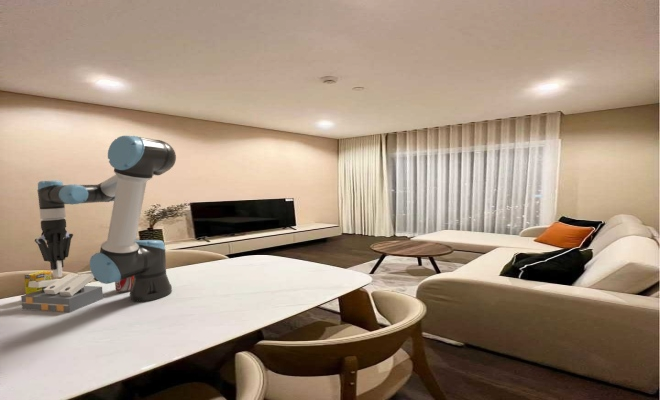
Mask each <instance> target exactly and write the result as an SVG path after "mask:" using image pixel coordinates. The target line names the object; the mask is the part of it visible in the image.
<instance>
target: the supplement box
mask: <svg viewBox="0 0 660 400" xmlns="http://www.w3.org/2000/svg"><path fill="white" fill-rule="evenodd" d="M23 276H24V289H25V295H26V294H29V293H33V292H36V291H39V290H42V287H39V288H37V287H28V285H29V282H31V281H41V280H51V279H52V271H49V270H39V271H36V272H31V273H25V274H24V275H23Z"/></svg>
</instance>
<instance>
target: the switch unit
mask: <svg viewBox="0 0 660 400" xmlns="http://www.w3.org/2000/svg"><path fill="white" fill-rule="evenodd" d="M47 287H48V286H47ZM47 287H42V290H39V291H36V292H33V293H29V294H26V293H25V294H23V295H20V296H21V297H20V299H21V309H22V310H30V311H31V310H32V311H47V312H58V313H59V312H61V313H72V312H74V311H77V310H79V309H82V308H84V307H86V306H88V305H91V304H93V303H96V302H98V301H101V300H103V299H104V296H103V295H104V294H103V293H104V291H103V286H95V285H94V286H92V285H85V286H84V287H83V288H81V289H80V290H79V291H78V292H76V293H75V294H74V295H73V296H61V294H60V293H57V294H45V292H44V290H43V289H45V288H47Z"/></svg>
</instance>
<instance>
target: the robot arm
mask: <svg viewBox="0 0 660 400" xmlns="http://www.w3.org/2000/svg"><path fill="white" fill-rule="evenodd" d="M107 159H108V163H109V164H110V166H111V167H112V168H114V169H113V173H114V175H112V176H111V177H109V178H107V179H106V180H103V181H102V182H100V183H98V184H67V185H64V184H63V183H64V182H63V181H62V180H41V181H39V182H38V183H37V197H38V207H39V217H40V219H41V220H40V230H41V232H42V233H41V236H40V237H38V238H35V239H34V242H35V243H36V244H37V245H38V248H39V251H40V253H41V257H42V258H43V261H44V262H49V263H50V270H52V275H53V278H63V277H64V275H63V268H64V267H65V265H64V260H66V258H68V257H69V254H70V248H71V242H72V238H73V236H74V233H69V232H68V230H67V219H65V218H66V205H79V204H91V203H109V202H113V204H112V205H113V206H112V210H111V211H112V212H111V217H110V223H109V228H108V233H107V240H106V241H103V242H102V243H101V245H100V250H99V252H95V254H93V255H92V256H91V257H90V259H89V268H90V269H89V270H90V272H91V274H93V276H94V279H96V281H98V282H99V283H101V284H105V285H107V284H113V283H115V282H118V281H120V280H123V279H126V278H129V277H132V276H134V281H133V284H132V288H131V291H129V299H130V301H133V302H147V301H148V302H149V301H153V300H157V299H162V298H164V297H167V296H169V295H170V294H171V293H172V292H173V288H172V283H170V280H169V278H168V275H167V261H166V247H165V242H164V241H163V240H160V239H159V240H158V239H143V240H142V239H141V240H136V239H137V235H138V230H139V223H140V220H141V213H142V209H143V208H142V207H143V203H144V198H145V193H146V192H145V191H146V187H147V183H148V181H150V180H151V179H153V177H154V176H161V175H163V174H165V173H166V172H168V171H169V170H171V169H172V168H173V167H174V166H175V163H176V160H177V155H176V151H175V150H174V148H173V146H171V145H170V144H169V143H168V142H166V141H163V140H159V139H154V138H147V137H141V136H138V135H137V136H135V135H121V136H118V137H117V138H115V139H114V140H112V142H111V143H110V144H109V148H108V150H107Z"/></svg>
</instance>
